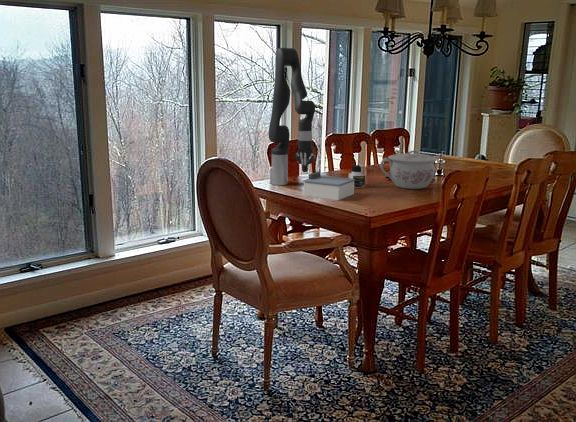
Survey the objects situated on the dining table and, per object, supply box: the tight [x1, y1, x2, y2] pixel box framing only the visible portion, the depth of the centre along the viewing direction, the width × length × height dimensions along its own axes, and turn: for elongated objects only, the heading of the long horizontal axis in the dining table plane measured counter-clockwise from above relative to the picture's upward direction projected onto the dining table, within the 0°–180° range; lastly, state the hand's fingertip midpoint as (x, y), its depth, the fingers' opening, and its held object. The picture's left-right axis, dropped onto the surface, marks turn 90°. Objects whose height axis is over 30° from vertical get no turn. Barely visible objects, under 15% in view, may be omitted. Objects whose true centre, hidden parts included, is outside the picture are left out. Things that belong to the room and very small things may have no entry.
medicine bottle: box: [348, 164, 366, 189], centre depth 312 cm, size 7×7×12 cm
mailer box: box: [303, 181, 355, 201], centre depth 290 cm, size 20×18×7 cm
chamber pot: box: [379, 150, 439, 190], centre depth 311 cm, size 28×28×21 cm
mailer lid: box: [302, 171, 355, 186], centre depth 288 cm, size 21×19×3 cm
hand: (304, 172), depth 295 cm, fingers closed
